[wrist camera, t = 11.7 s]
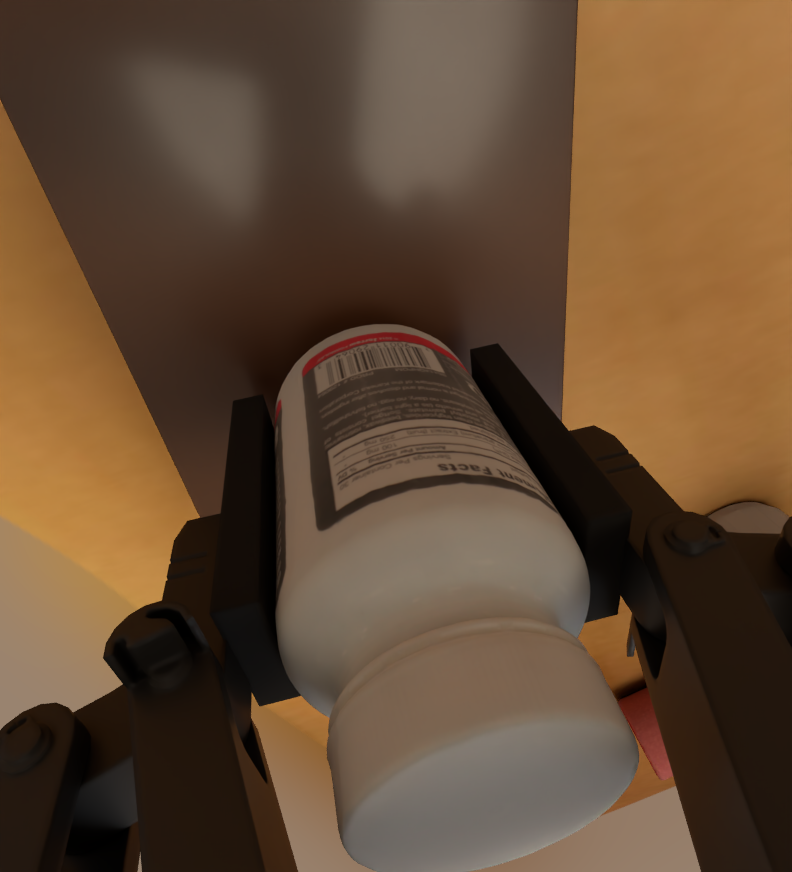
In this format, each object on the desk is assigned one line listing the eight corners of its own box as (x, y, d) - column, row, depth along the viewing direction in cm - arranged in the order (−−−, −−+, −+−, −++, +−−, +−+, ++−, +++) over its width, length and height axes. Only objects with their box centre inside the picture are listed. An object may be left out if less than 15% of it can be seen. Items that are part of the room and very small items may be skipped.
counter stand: (30, 1, 13) (-59, -21, 10) (503, -75, 14) (583, -122, 11) (261, 558, 25) (260, 643, 21) (515, 497, 26) (556, 569, 22)
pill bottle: (406, 511, 17) (521, 900, 9) (240, 453, 15) (203, 905, 7) (509, 370, 15) (778, 721, 7) (333, 278, 13) (437, 642, 5)
